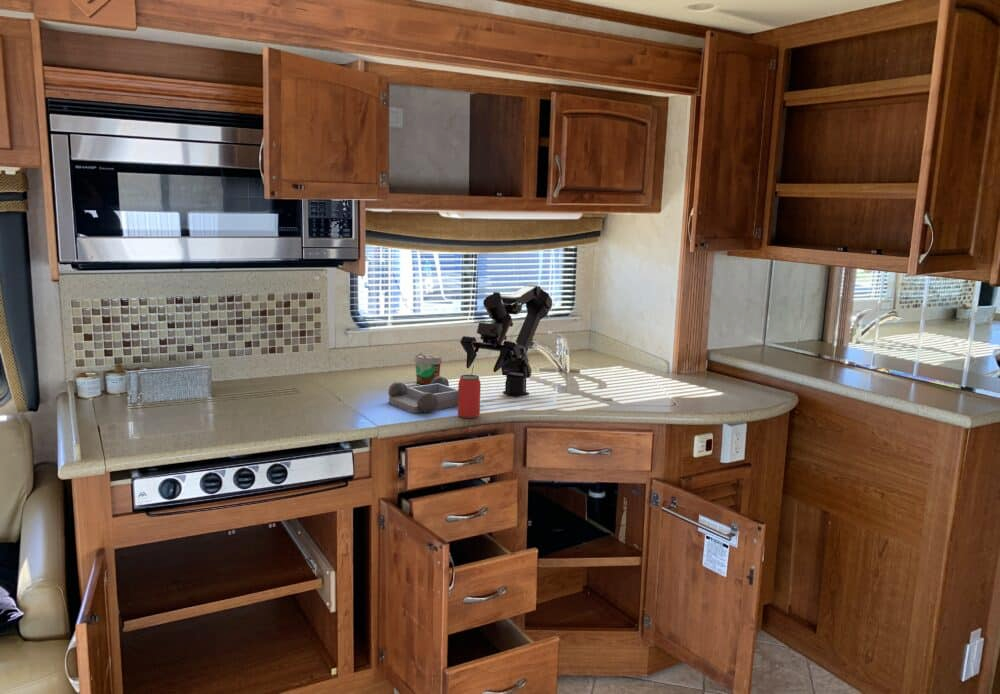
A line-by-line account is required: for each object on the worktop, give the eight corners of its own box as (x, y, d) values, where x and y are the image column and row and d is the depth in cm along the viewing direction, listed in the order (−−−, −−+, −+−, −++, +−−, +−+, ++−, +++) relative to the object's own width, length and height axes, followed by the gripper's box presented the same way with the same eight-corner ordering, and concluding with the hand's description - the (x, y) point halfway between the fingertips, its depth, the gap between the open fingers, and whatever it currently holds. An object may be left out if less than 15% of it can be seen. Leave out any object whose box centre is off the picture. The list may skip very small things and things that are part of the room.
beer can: (458, 419, 230) (459, 379, 228) (456, 413, 236) (457, 374, 234) (481, 418, 231) (482, 379, 229) (478, 412, 238) (479, 374, 235)
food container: (406, 381, 275) (406, 353, 273) (420, 379, 279) (421, 352, 277) (426, 388, 266) (426, 359, 264) (441, 386, 269) (441, 358, 268)
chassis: (447, 392, 262) (447, 374, 261) (481, 403, 248) (481, 385, 247) (385, 402, 246) (385, 383, 245) (418, 415, 233) (418, 395, 232)
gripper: (463, 309, 243) (444, 350, 235) (518, 315, 235) (500, 357, 227) (475, 331, 251) (457, 371, 244) (528, 337, 243) (511, 379, 235)
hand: (480, 369), depth 237 cm, fingers open, 9 cm apart
